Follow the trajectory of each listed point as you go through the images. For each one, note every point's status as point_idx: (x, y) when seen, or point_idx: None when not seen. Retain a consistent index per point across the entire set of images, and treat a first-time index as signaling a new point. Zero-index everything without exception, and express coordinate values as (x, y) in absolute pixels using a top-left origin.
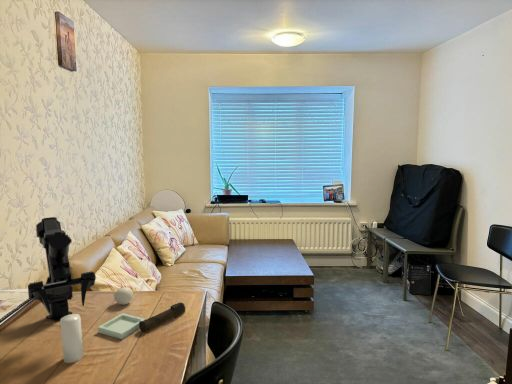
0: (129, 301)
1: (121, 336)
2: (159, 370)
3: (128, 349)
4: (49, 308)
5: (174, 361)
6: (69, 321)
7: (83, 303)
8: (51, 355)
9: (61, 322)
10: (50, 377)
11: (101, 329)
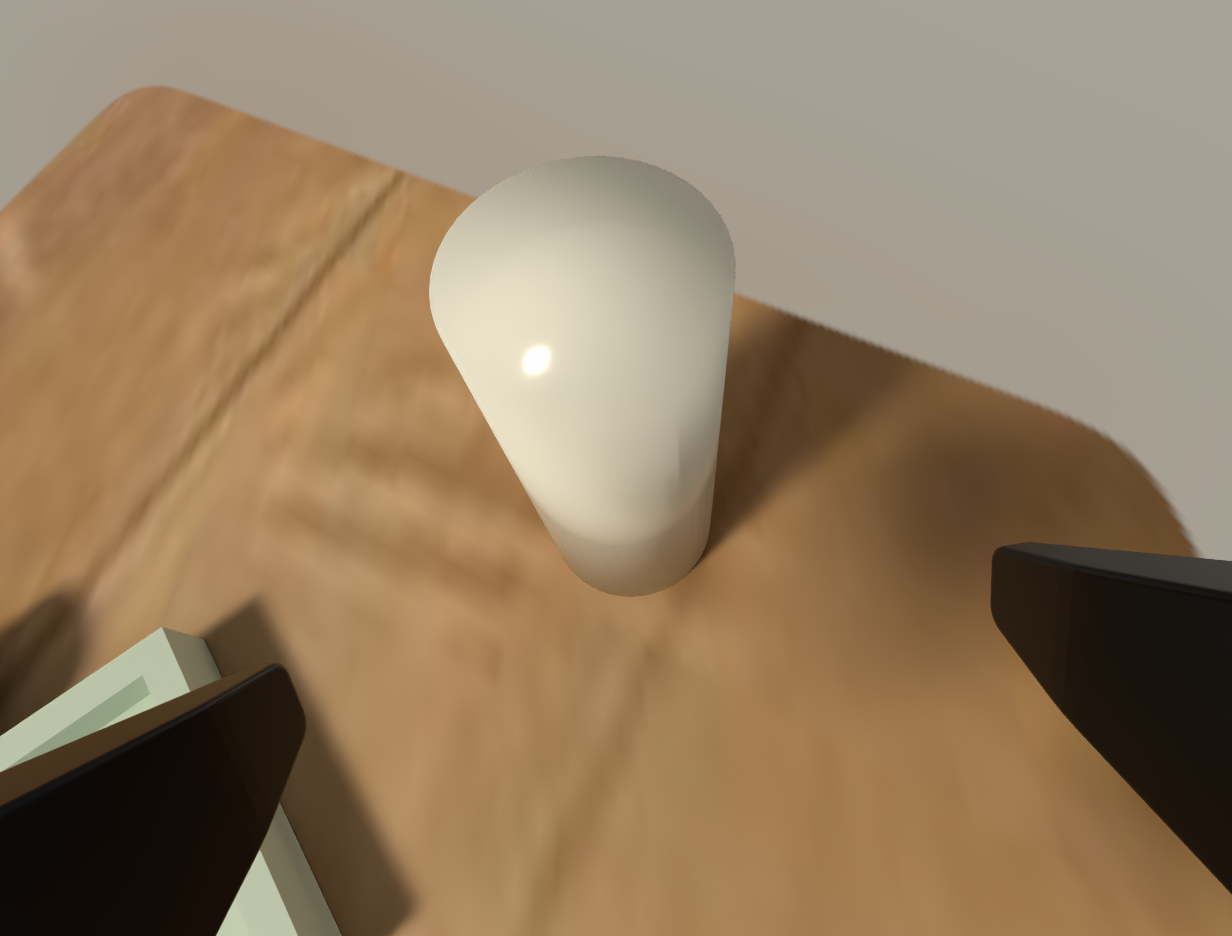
0: None
1: (185, 636)
2: (174, 160)
3: (224, 449)
4: (1066, 556)
5: (64, 202)
6: (595, 170)
7: (253, 667)
8: (831, 661)
9: (712, 217)
10: (781, 330)
11: (303, 918)
